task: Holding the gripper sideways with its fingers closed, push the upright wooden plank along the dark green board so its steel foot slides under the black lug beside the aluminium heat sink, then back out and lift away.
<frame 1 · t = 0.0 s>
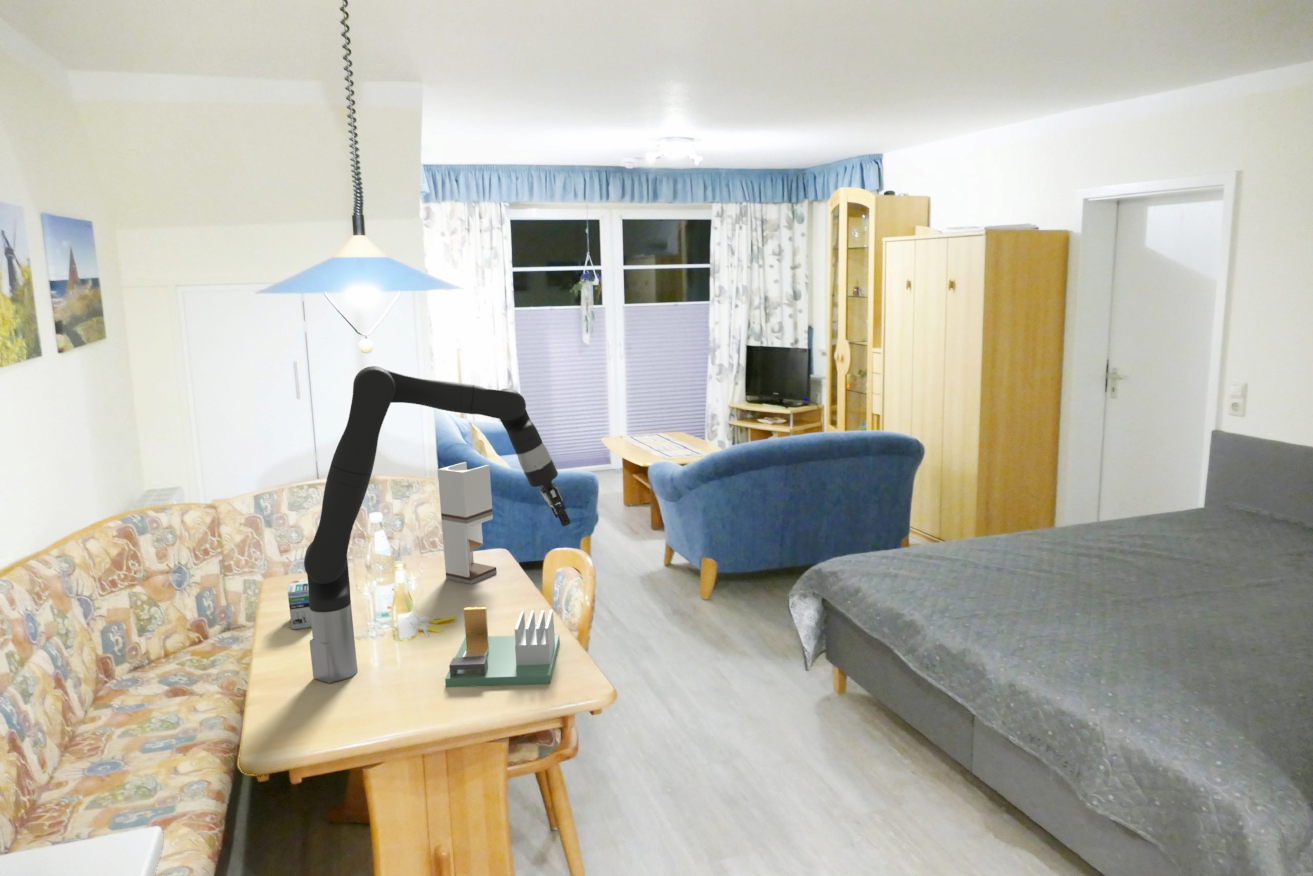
hand: (563, 520, 229), 31 cm above the table, tool tilted 20°, fingers open, 8 cm apart
upright wooden plank: (474, 633, 220), point 8 cm above the table, slide at 0.0 cm
light bulb box: (305, 622, 252), on the table
notched white tower: (471, 576, 286), on the table
heatsink board: (505, 663, 221), on the table
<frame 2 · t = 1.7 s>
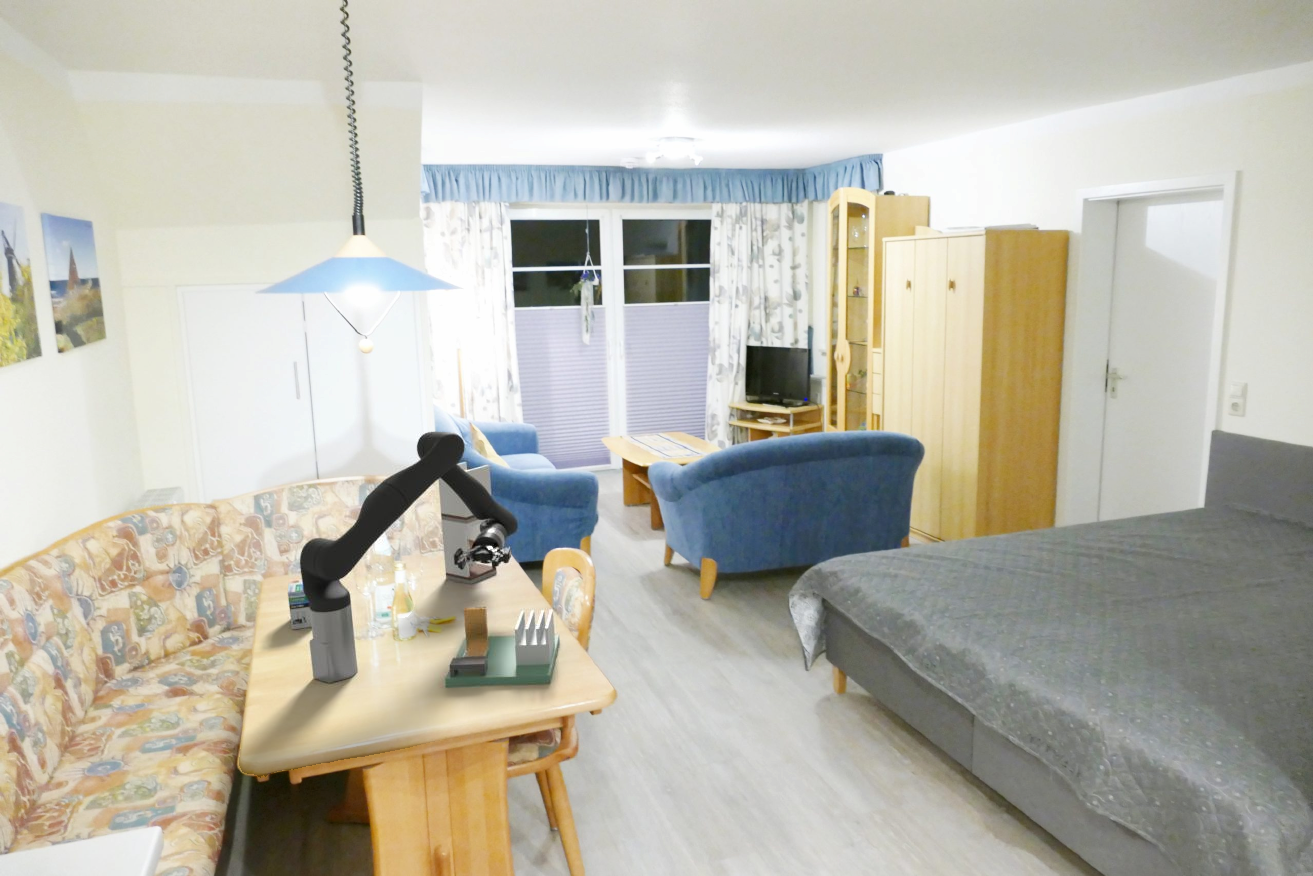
hand: (477, 565, 226), 22 cm above the table, tool horizontal, fingers open, 7 cm apart
nothing on the table moved.
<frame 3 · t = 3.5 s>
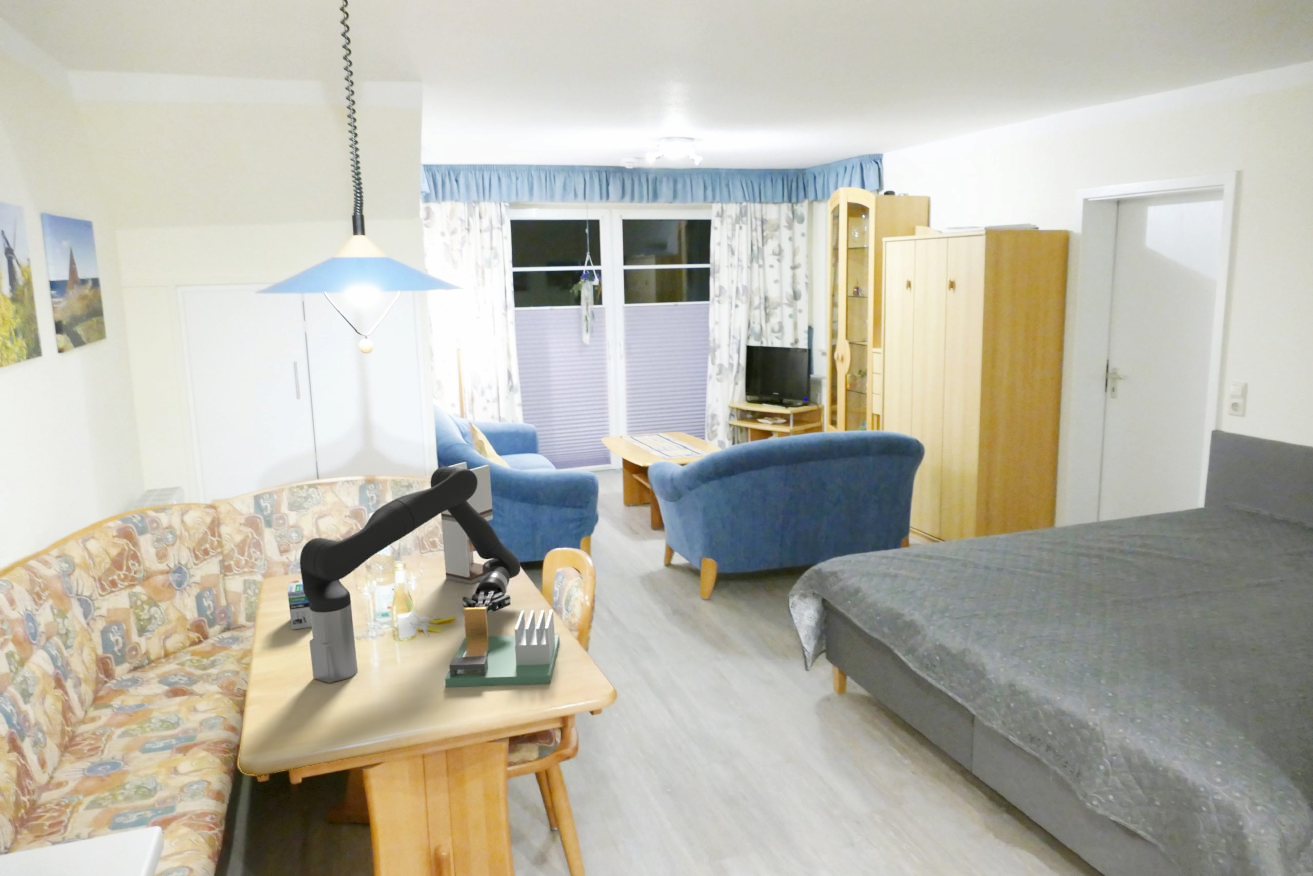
hand: (480, 614, 228), 10 cm above the table, tool horizontal, fingers closed
nothing on the table moved.
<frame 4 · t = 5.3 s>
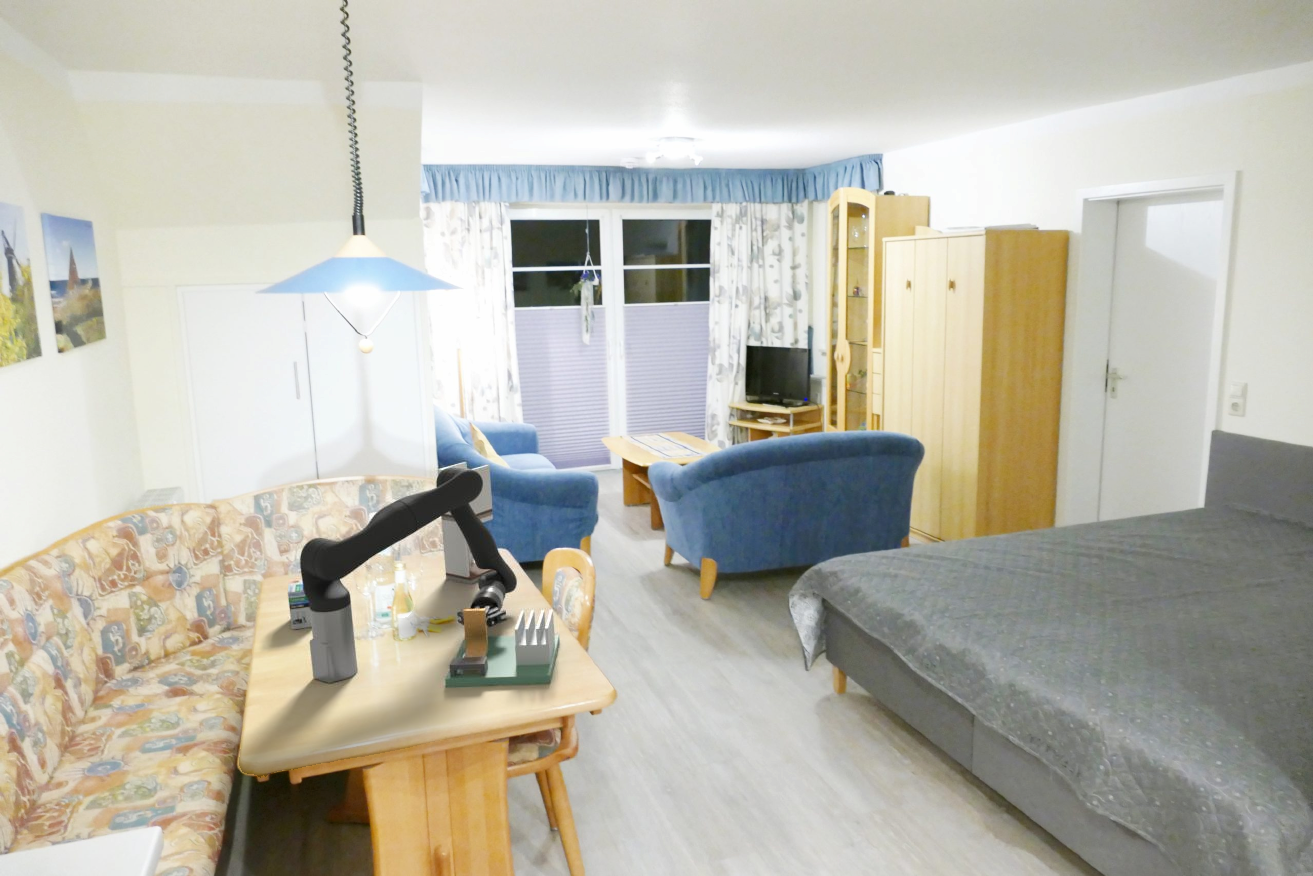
hand: (475, 629, 222), 8 cm above the table, tool horizontal, fingers closed
upright wooden plank: (473, 635, 219), point 8 cm above the table, slide at 0.9 cm, touching gripper
everything else where it was.
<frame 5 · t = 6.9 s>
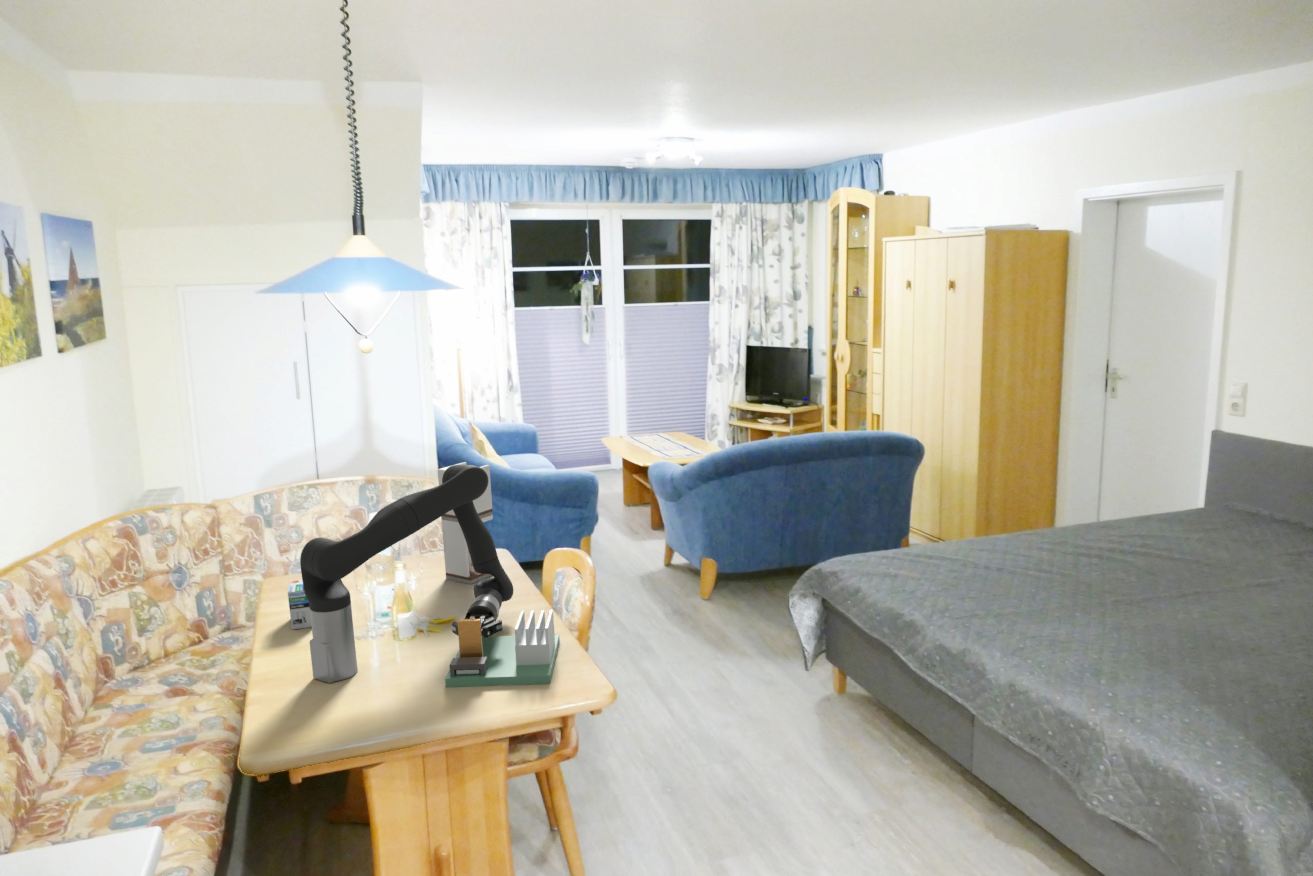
hand: (470, 640, 215), 8 cm above the table, tool horizontal, fingers closed
upright wooden plank: (468, 646, 212), point 8 cm above the table, slide at 7.6 cm, touching gripper
everything else where it was.
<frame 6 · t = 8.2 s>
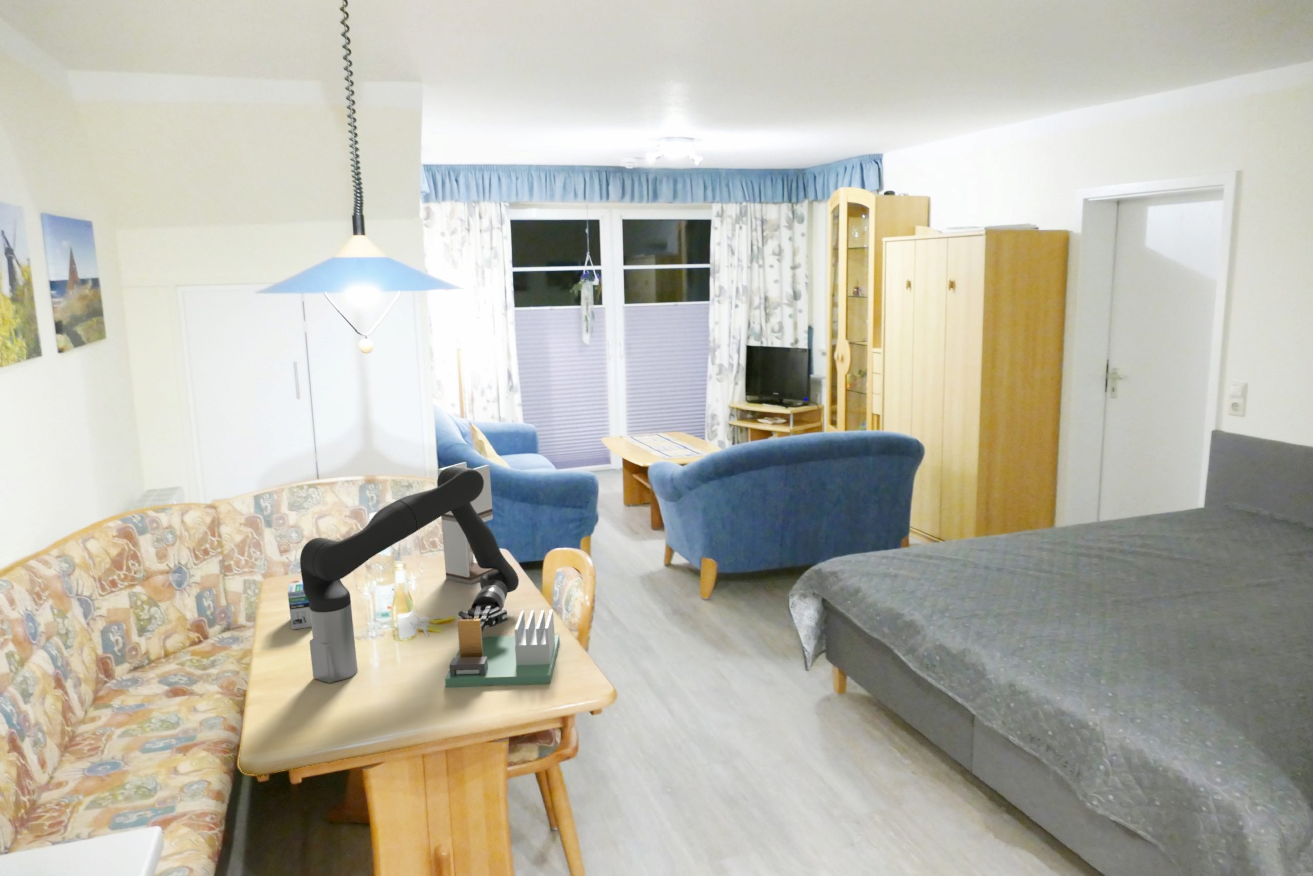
hand: (476, 629, 222), 8 cm above the table, tool horizontal, fingers closed
upright wooden plank: (468, 646, 213), point 8 cm above the table, slide at 7.5 cm
everything else where it was.
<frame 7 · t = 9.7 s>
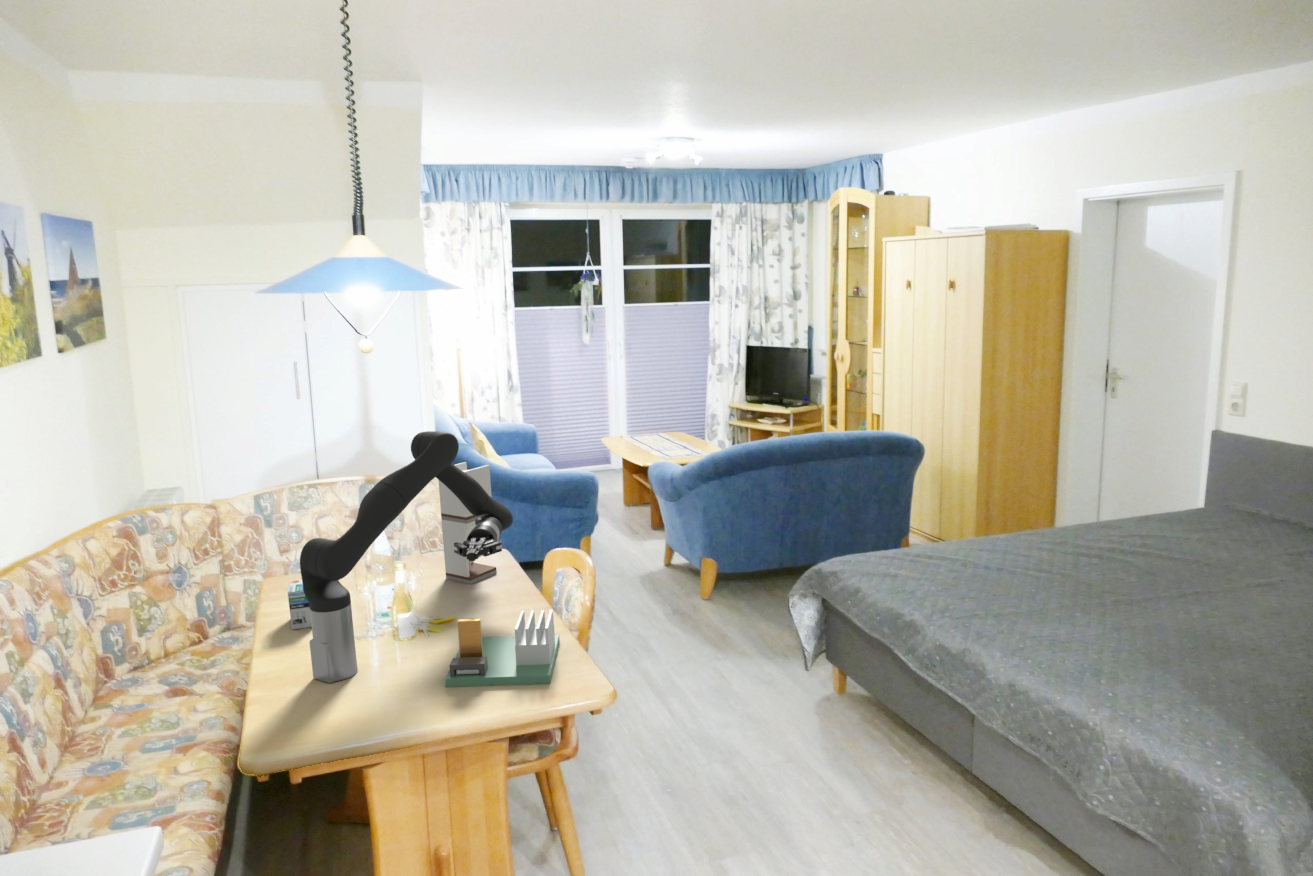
hand: (471, 557, 228), 24 cm above the table, tool horizontal, fingers closed
nothing on the table moved.
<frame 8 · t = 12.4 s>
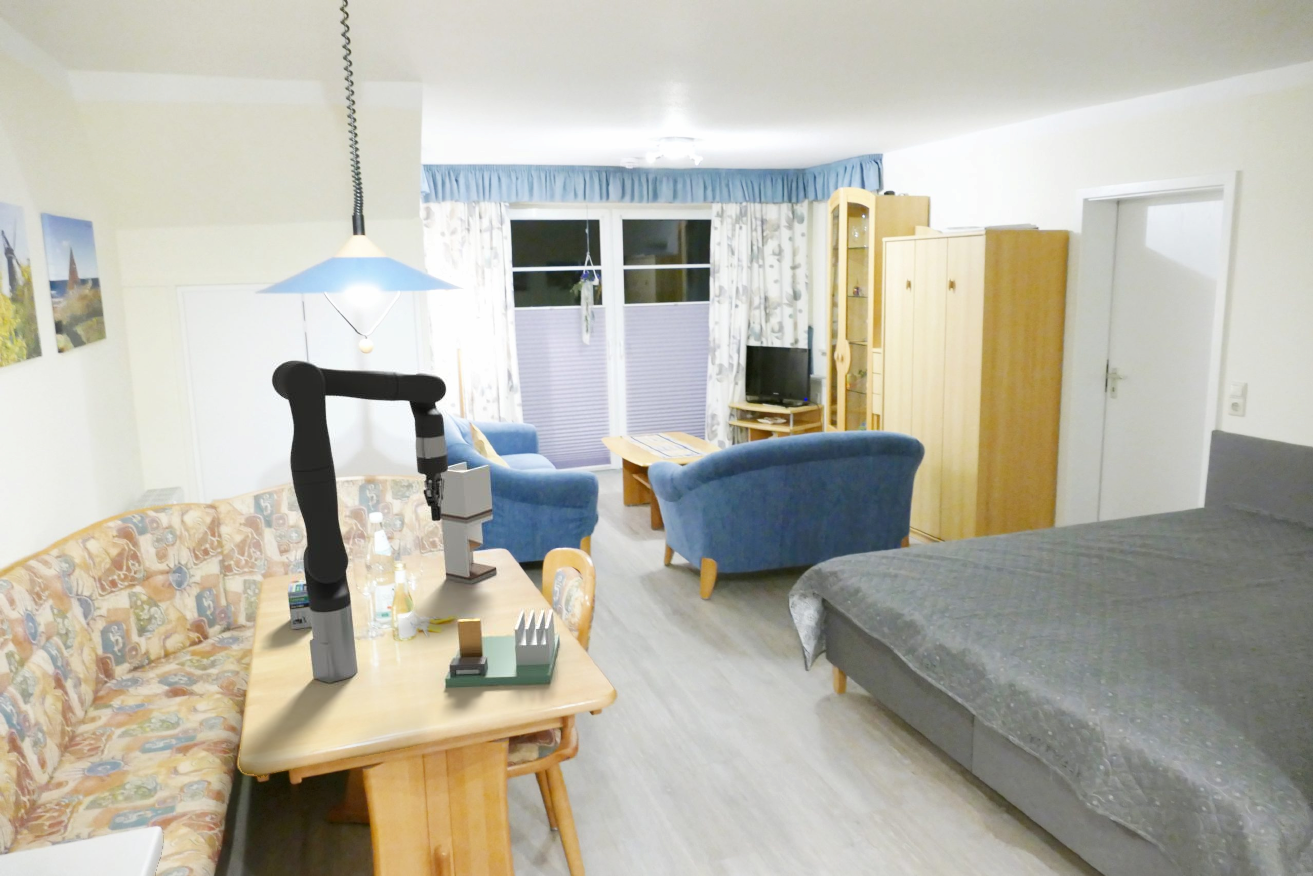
hand: (436, 520, 232), 32 cm above the table, tool pointing down, fingers closed
nothing on the table moved.
at the end: upright wooden plank slide at 7.5 cm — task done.
